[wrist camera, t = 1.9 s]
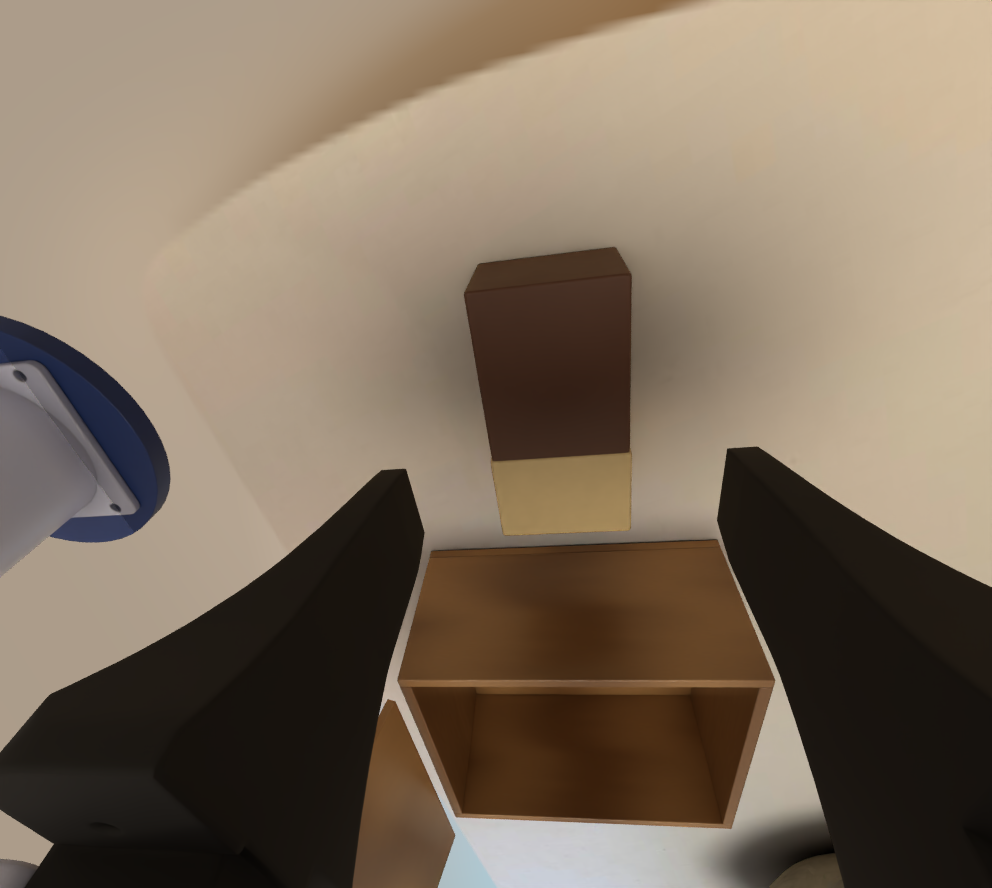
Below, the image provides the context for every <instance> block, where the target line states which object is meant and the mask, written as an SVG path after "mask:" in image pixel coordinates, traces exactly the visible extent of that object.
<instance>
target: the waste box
mask: <svg viewBox="0 0 992 888" xmlns="http://www.w3.org/2000/svg"><path fill="white" fill-rule="evenodd" d="M397 681H398V683H399V686H400V688H401V690H402V693H403V695H404V697H405V700H406V702H407V704H408V707H409V709H410V711H411V714H412V716H413V718H414V721H415V723H416V725H417V728H418V730H419V732H420V735H421V737H422V739H423V742H424V744H425V746H426V749H427V751H428V753H429V756H430V758H431V760H432V763H433V765H434V767H435V770H436V772H437V774H438V777H439V779H440V781H441V784H442V786H443V788H444V791H445V793H446V795H447V798H448V800H449V802H450V805H451V807H452V810H453V812H454V814H455V817H462V818H486V819H510V820H535V821H559V822H583V823H607V824H631V825H655V826H679V827H703V828H727V829H731V828H732V824H733V821H734V818H735V815H736V811H737V808H738V805H739V801H740V798H741V795H742V791H743V788H744V784H745V781H746V778H747V774H748V771H749V768H750V764H751V761H752V757H753V754H754V751H755V747H756V744H757V741H758V737H759V734H760V730H761V727H762V724H763V720H764V717H765V714H766V710H767V707H768V704H769V700H770V697H771V693H772V690H773V687H774V683H775V678H774V676H773V674H772V671H771V669H770V666H769V664H768V661H767V659H766V657H765V654H764V652H763V649H762V647H761V644H760V642H759V640H758V637H757V635H756V632H755V630H754V627H753V625H752V623H751V620H750V618H749V615H748V613H747V610H746V608H745V606H744V603H743V601H742V598H741V596H740V593H739V591H738V589H737V586H736V584H735V581H734V579H733V576H732V574H731V572H730V569H729V567H728V564H727V562H726V559H725V557H724V555H723V552H722V550H721V548H720V545H719V542H718V540H709V541H683V542H658V543H632V544H606V545H580V546H555V547H529V548H503V549H477V550H452V551H431V554H430V559H429V562H428V566H427V569H426V573H425V577H424V581H423V585H422V588H421V592H420V596H419V600H418V604H417V607H416V611H415V615H414V619H413V623H412V626H411V630H410V634H409V638H408V642H407V645H406V649H405V653H404V657H403V661H402V664H401V668H400V672H399V676H398V680H397Z"/></svg>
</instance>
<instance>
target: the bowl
mask: <svg viewBox="0 0 992 888" xmlns="http://www.w3.org/2000/svg"><path fill="white" fill-rule="evenodd" d="M769 888H844V884H843V881H842V877H841V873H840V869H839V866H838V862H837V858H836V854H835V853H831V854H825V855H819V856H814V857H811V858H807V859H805V860H802V861H800V862H798V863H796V864H794V865H792V866H791V867H789V868H788V869H787V870H785V871H784V872H783V873H782V874H781V875H780V876H779V877H778V878H777V879H776V880H775V881H774V882H773V883H772V884H771V885H770V887H769Z"/></svg>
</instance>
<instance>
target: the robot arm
mask: <svg viewBox="0 0 992 888" xmlns="http://www.w3.org/2000/svg"><path fill="white" fill-rule="evenodd" d="M139 508H140V504H139V501H138V500H137V499H136V497H135V496H134V494H133V493H132V491H131V490H130V488H129V487H128V485H127V484H126V483H125V481H124V480H123V478H122V477H121V475H120V474H119V472H118V471H117V469H116V468H115V467H114V465H113V464H112V462H111V461H110V459H109V458H108V456H107V455H106V453H105V452H104V451H103V449H102V448H101V446H100V445H99V443H98V442H97V440H96V439H95V437H94V436H93V435H92V433H91V432H90V430H89V429H88V427H87V426H86V424H85V423H84V421H83V420H82V419H81V417H80V416H79V414H78V413H77V411H76V410H75V408H74V407H73V405H72V404H71V403H70V401H69V400H68V398H67V397H66V395H65V394H64V392H63V391H62V389H61V388H60V387H59V385H58V384H57V382H56V381H55V379H54V378H53V376H52V375H51V373H50V372H49V371H48V369H47V368H46V367H45V366H44V365H42V364H41V363H39V362H37V361H34V360H27V361H18V362H8V363H0V577H1V576H2V575H3V574H5V573H6V572H7V571H8V570H9V569H11V568H12V567H13V566H14V565H15V564H17V563H18V562H19V561H20V560H21V559H23V558H24V557H25V556H26V555H27V554H29V553H30V552H31V551H32V550H33V549H35V548H36V547H37V546H38V545H39V544H40V543H41V542H43V541H44V540H45V539H46V538H48V537H49V536H50V535H51V534H52V533H54V532H55V531H56V530H57V529H58V528H60V527H61V526H62V525H63V524H64V523H65V522H67V521H68V520H69V519H70V518H74V517H92V516H110V515H128V514H134V513H135V512H136V511H137V510H138V509H139ZM717 521H718V525H719V529H720V532H721V536H722V539H723V543H724V546H725V549H726V552H727V556H728V559H729V562H730V564H731V566H732V569H733V571H734V573H735V575H736V578H737V580H738V582H739V584H740V587H741V589H742V591H743V593H744V595H745V598H746V600H747V602H748V604H749V606H750V609H751V611H752V613H753V615H754V617H755V619H756V622H757V624H758V626H759V628H760V630H761V633H762V635H763V637H764V639H765V641H766V644H767V646H768V648H769V650H770V652H771V655H772V657H773V659H774V662H775V664H776V667H777V669H778V672H779V674H780V677H781V680H782V683H783V686H784V689H785V692H786V695H787V697H788V700H789V703H790V706H791V709H792V712H793V715H794V718H795V721H796V724H797V727H798V730H799V734H800V737H801V740H802V743H803V746H804V749H805V753H806V756H807V759H808V762H809V765H810V768H811V772H812V775H813V778H814V781H815V785H816V788H817V792H818V795H819V799H820V802H821V805H822V809H823V812H824V816H825V819H826V823H827V826H828V829H829V833H830V836H831V840H832V843H833V847H834V851H835V854H836V858H837V862H838V866H839V869H840V873H841V877H842V881H843V884H844V888H992V587H990V586H988V585H986V584H983V583H981V582H979V581H977V580H975V579H973V578H971V577H969V576H967V575H965V574H963V573H961V572H959V571H957V570H955V569H953V568H951V567H949V566H947V565H945V564H943V563H941V562H939V561H938V560H936V559H934V558H932V557H930V556H928V555H926V554H924V553H922V552H920V551H918V550H917V549H915V548H913V547H911V546H909V545H908V544H906V543H904V542H902V541H900V540H899V539H897V538H895V537H893V536H892V535H890V534H888V533H887V532H885V531H884V530H882V529H880V528H879V527H877V526H875V525H874V524H872V523H870V522H869V521H867V520H865V519H864V518H862V517H860V516H859V515H857V514H856V513H854V512H853V511H851V510H849V509H848V508H846V507H845V506H843V505H842V504H840V503H839V502H837V501H836V500H834V499H833V498H831V497H830V496H828V495H827V494H825V493H824V492H822V491H821V490H819V489H818V488H817V487H815V486H814V485H812V484H811V483H809V482H808V481H806V480H805V479H804V478H802V477H801V476H799V475H798V474H797V473H795V472H794V471H792V470H791V469H789V468H788V467H787V466H785V465H784V464H782V463H781V462H780V461H778V460H777V459H775V458H774V457H772V456H771V455H770V454H768V453H767V452H765V451H764V450H762V449H760V448H759V447H745V448H729V449H727V454H726V461H725V468H724V475H723V482H722V489H721V496H720V504H719V511H718V518H717ZM424 533H425V532H424V529H423V526H422V522H421V519H420V515H419V512H418V508H417V505H416V502H415V498H414V495H413V491H412V488H411V484H410V481H409V478H408V474H407V471H406V469H394V470H381V471H380V472H379V473H378V474H377V475H375V476H374V477H373V478H372V479H371V480H370V481H369V482H368V483H367V484H366V485H365V486H363V487H362V488H361V489H360V490H359V491H358V492H357V493H356V494H355V495H354V496H353V497H352V498H351V499H350V500H349V501H348V502H347V503H346V504H345V505H344V506H342V507H341V508H340V509H339V510H338V511H337V512H336V513H335V514H334V515H333V516H332V517H331V518H330V519H329V520H327V521H326V522H325V523H324V524H323V525H322V526H321V527H320V528H319V529H317V530H316V531H315V532H314V533H313V534H312V535H310V536H309V537H308V538H307V539H306V540H305V541H303V542H302V543H301V544H300V545H299V546H298V547H296V548H295V549H294V550H293V551H292V552H291V553H289V554H288V555H287V556H286V557H285V558H283V559H282V560H281V561H280V562H278V563H277V564H276V565H274V566H273V567H272V568H271V569H269V570H268V571H267V572H265V573H264V574H262V575H261V576H260V577H258V578H257V579H255V580H254V581H253V582H251V583H250V584H249V585H248V586H246V587H245V588H243V589H241V590H240V591H239V592H237V593H236V594H234V595H233V596H231V597H229V598H228V599H226V600H225V601H223V602H222V603H220V604H218V605H217V606H215V607H214V608H212V609H211V610H209V611H207V612H206V613H204V614H203V615H201V616H200V617H198V618H197V619H195V620H193V621H192V622H190V623H188V624H187V625H185V626H183V627H181V628H180V629H178V630H176V631H175V632H173V633H171V634H169V635H167V636H166V637H164V638H162V639H160V640H159V641H157V642H155V643H153V644H151V645H149V646H147V647H146V648H144V649H142V650H140V651H138V652H137V653H134V654H132V655H131V656H129V657H127V658H125V659H123V660H121V661H119V662H117V663H115V664H113V665H111V666H109V667H106V668H104V669H102V670H100V671H98V672H96V673H94V674H92V675H90V676H88V677H86V678H84V679H82V680H80V681H78V682H75V683H73V684H72V685H69V686H67V687H65V688H63V689H61V690H58V691H56V692H54V693H52V694H50V695H49V696H48V697H47V698H46V699H45V700H44V702H43V703H42V704H41V705H40V706H39V707H38V709H37V710H36V711H35V712H34V713H33V715H32V716H31V717H30V718H29V719H28V720H27V722H26V723H25V724H24V725H23V726H22V727H21V729H20V730H19V731H18V732H17V733H16V735H15V736H14V737H13V738H12V739H11V740H10V742H9V743H8V744H7V745H6V746H5V747H4V749H3V750H2V751H1V752H0V810H2V811H3V812H5V813H6V814H7V815H9V816H11V817H12V818H14V819H15V820H17V821H19V822H20V823H22V824H23V825H25V826H27V827H28V828H30V829H32V830H33V831H35V832H36V833H38V834H39V835H41V836H42V837H44V838H45V839H47V840H49V841H50V842H52V843H54V845H53V846H52V848H51V849H50V851H49V852H48V854H47V855H46V857H45V858H44V860H43V861H42V863H41V864H40V866H37V865H34V864H31V863H27V862H23V861H17V860H7V859H0V888H352V886H353V878H354V870H355V863H356V855H357V847H358V840H359V832H360V824H361V818H362V811H363V805H364V798H365V792H366V785H367V779H368V773H369V766H370V761H371V755H372V750H373V744H374V738H375V733H376V727H377V722H378V717H379V712H380V707H381V702H382V697H383V692H384V687H385V682H386V677H387V673H388V669H389V666H390V662H391V658H392V655H393V651H394V648H395V645H396V642H397V639H398V635H399V632H400V629H401V626H402V623H403V619H404V616H405V613H406V610H407V607H408V603H409V600H410V597H411V594H412V590H413V587H414V584H415V580H416V577H417V573H418V570H419V564H420V559H421V553H422V546H423V540H424Z"/></svg>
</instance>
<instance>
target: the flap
mask: <svg viewBox="0 0 992 888" xmlns="http://www.w3.org/2000/svg"><path fill="white" fill-rule="evenodd" d="M454 838H455V833H454V831H453V829H452V827H451V824H450V822H449V820H448V818H447V816H446V813H445V811H444V809H443V807H442V805H441V802H440V800H439V798H438V795H437V793H436V791H435V789H434V787H433V784H432V782H431V780H430V778H429V775H428V773H427V771H426V769H425V767H424V764H423V762H422V760H421V758H420V755H419V753H418V751H417V749H416V747H415V744H414V742H413V740H412V738H411V735H410V733H409V731H408V729H407V726H406V724H405V722H404V720H403V718H402V715H401V713H400V711H399V709H398V706H397V704H396V702H395V701H392V700H389V699H388V700H387V702H386V704H385V706H384V707H383V709H382V711H381V713H380V715H379V717H378V722H377V727H376V733H375V738H374V744H373V750H372V755H371V761H370V766H369V773H368V779H367V785H366V792H365V798H364V805H363V811H362V818H361V824H360V832H359V840H358V847H357V855H356V863H355V870H354V878H353V886H352V888H438V885H439V882H440V879H441V876H442V873H443V870H444V867H445V864H446V861H447V858H448V856H449V853H450V850H451V846H452V844H453V841H454Z"/></svg>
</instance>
